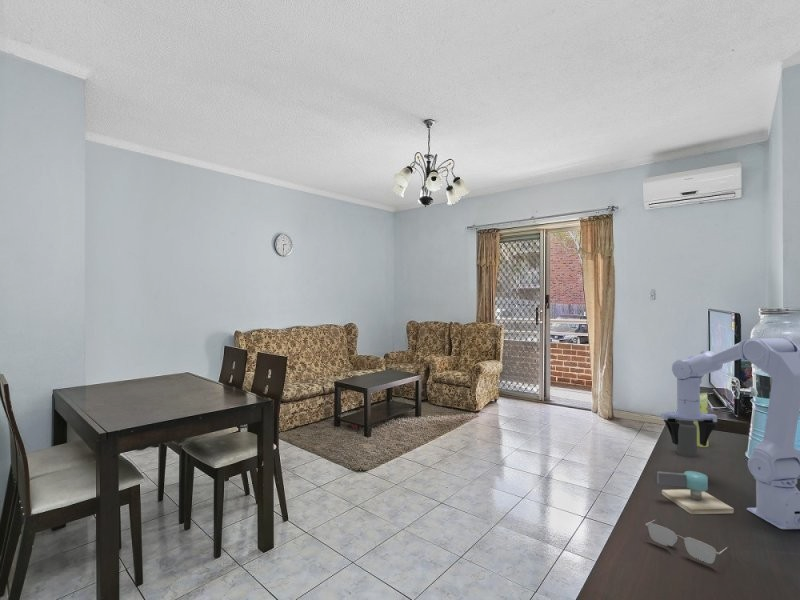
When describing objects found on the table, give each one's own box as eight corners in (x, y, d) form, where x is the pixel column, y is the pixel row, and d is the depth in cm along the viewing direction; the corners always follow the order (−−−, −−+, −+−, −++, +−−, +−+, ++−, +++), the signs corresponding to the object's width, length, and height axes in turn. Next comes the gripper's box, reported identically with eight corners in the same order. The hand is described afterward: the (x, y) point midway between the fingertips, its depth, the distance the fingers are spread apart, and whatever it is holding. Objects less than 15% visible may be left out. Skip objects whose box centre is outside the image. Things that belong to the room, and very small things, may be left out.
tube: (710, 450, 150) (709, 395, 150) (692, 447, 152) (692, 394, 152) (707, 445, 154) (707, 392, 155) (691, 443, 157) (690, 391, 157)
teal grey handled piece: (702, 483, 112) (701, 471, 112) (711, 492, 107) (711, 479, 107) (654, 479, 114) (654, 468, 114) (661, 487, 110) (661, 475, 110)
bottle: (679, 457, 143) (679, 413, 143) (674, 451, 149) (673, 409, 149) (699, 458, 141) (699, 414, 141) (693, 452, 147) (692, 410, 147)
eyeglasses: (645, 537, 95) (644, 519, 95) (660, 526, 100) (660, 509, 100) (719, 568, 84) (719, 548, 84) (732, 554, 88) (732, 535, 88)
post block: (733, 513, 105) (733, 496, 105) (691, 514, 104) (691, 497, 104) (700, 493, 116) (700, 478, 116) (661, 494, 115) (661, 479, 115)
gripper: (707, 397, 130) (708, 441, 130) (656, 395, 132) (657, 438, 132) (720, 402, 123) (721, 449, 123) (666, 400, 125) (667, 446, 125)
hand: (689, 444), depth 127 cm, fingers open, 7 cm apart
